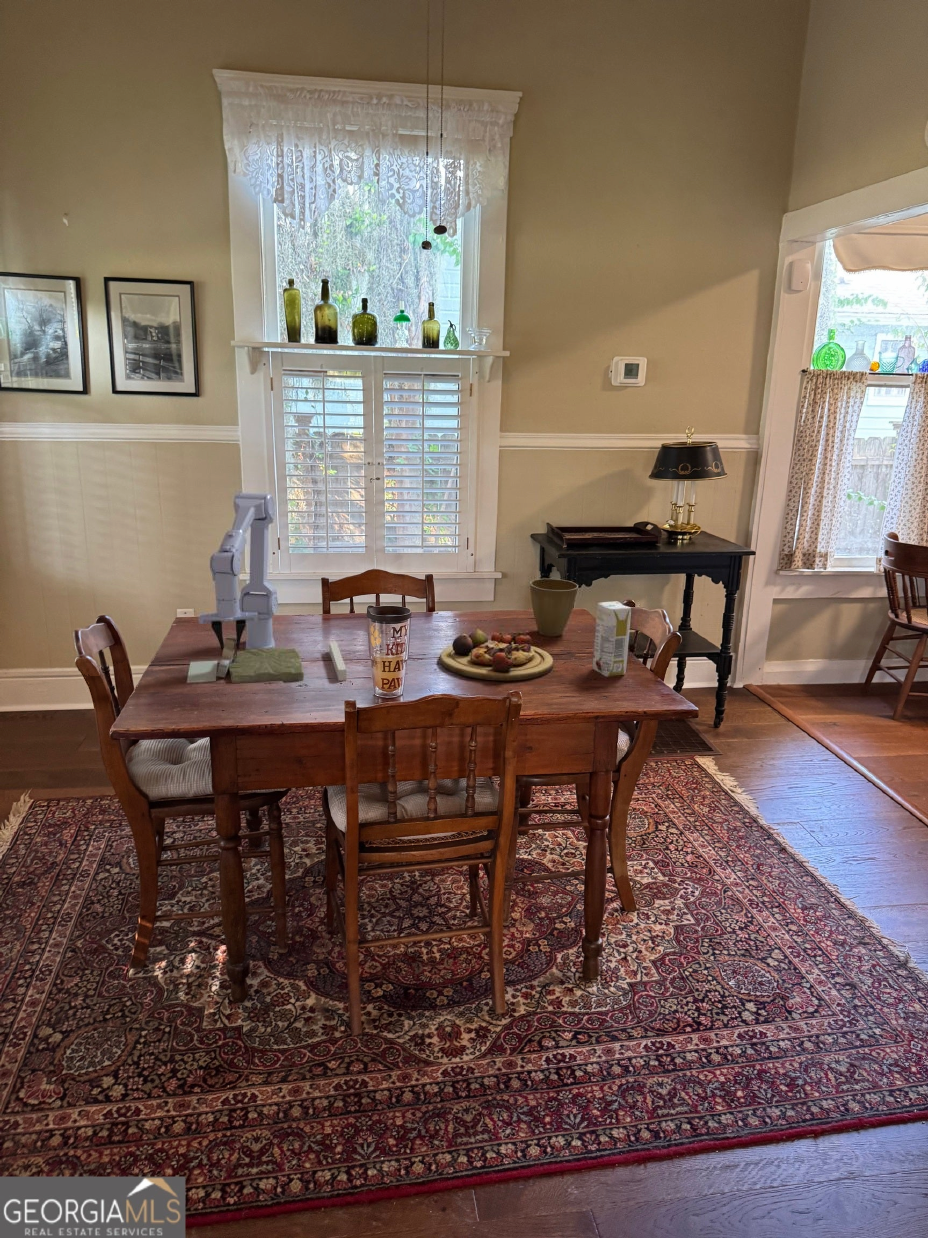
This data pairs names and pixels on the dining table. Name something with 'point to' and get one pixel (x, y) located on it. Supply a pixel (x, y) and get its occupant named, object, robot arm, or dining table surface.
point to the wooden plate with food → (496, 657)
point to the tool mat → (202, 671)
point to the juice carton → (611, 638)
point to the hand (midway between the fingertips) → (230, 648)
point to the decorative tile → (266, 665)
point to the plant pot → (552, 604)
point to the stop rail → (337, 661)
